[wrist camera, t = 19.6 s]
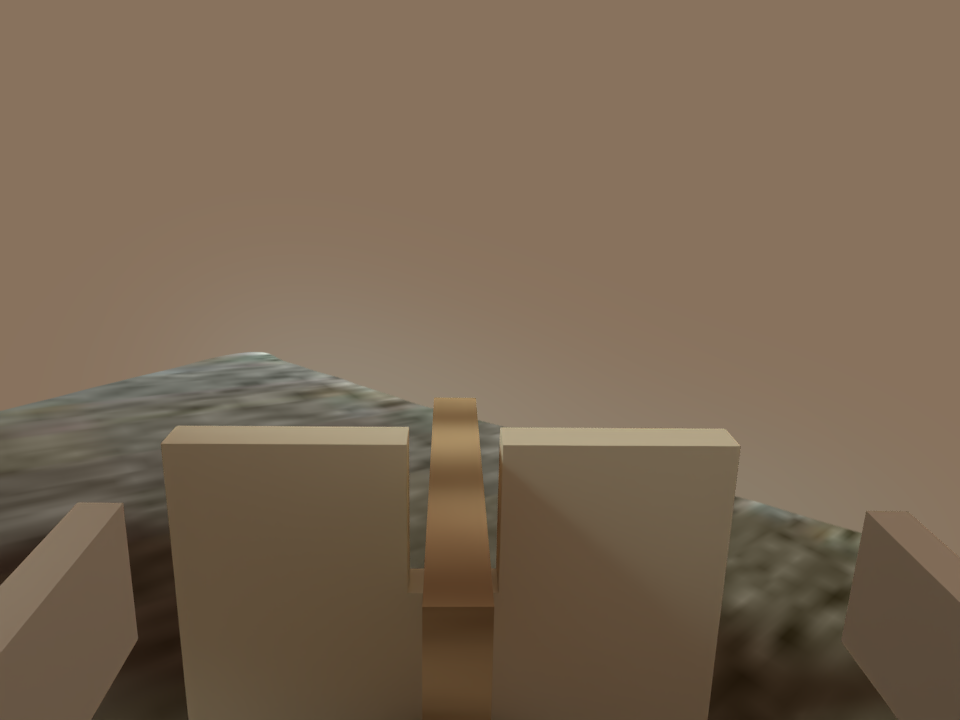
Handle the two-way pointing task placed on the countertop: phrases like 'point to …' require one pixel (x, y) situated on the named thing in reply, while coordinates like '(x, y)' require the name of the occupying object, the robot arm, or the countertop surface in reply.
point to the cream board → (399, 590)
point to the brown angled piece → (456, 572)
